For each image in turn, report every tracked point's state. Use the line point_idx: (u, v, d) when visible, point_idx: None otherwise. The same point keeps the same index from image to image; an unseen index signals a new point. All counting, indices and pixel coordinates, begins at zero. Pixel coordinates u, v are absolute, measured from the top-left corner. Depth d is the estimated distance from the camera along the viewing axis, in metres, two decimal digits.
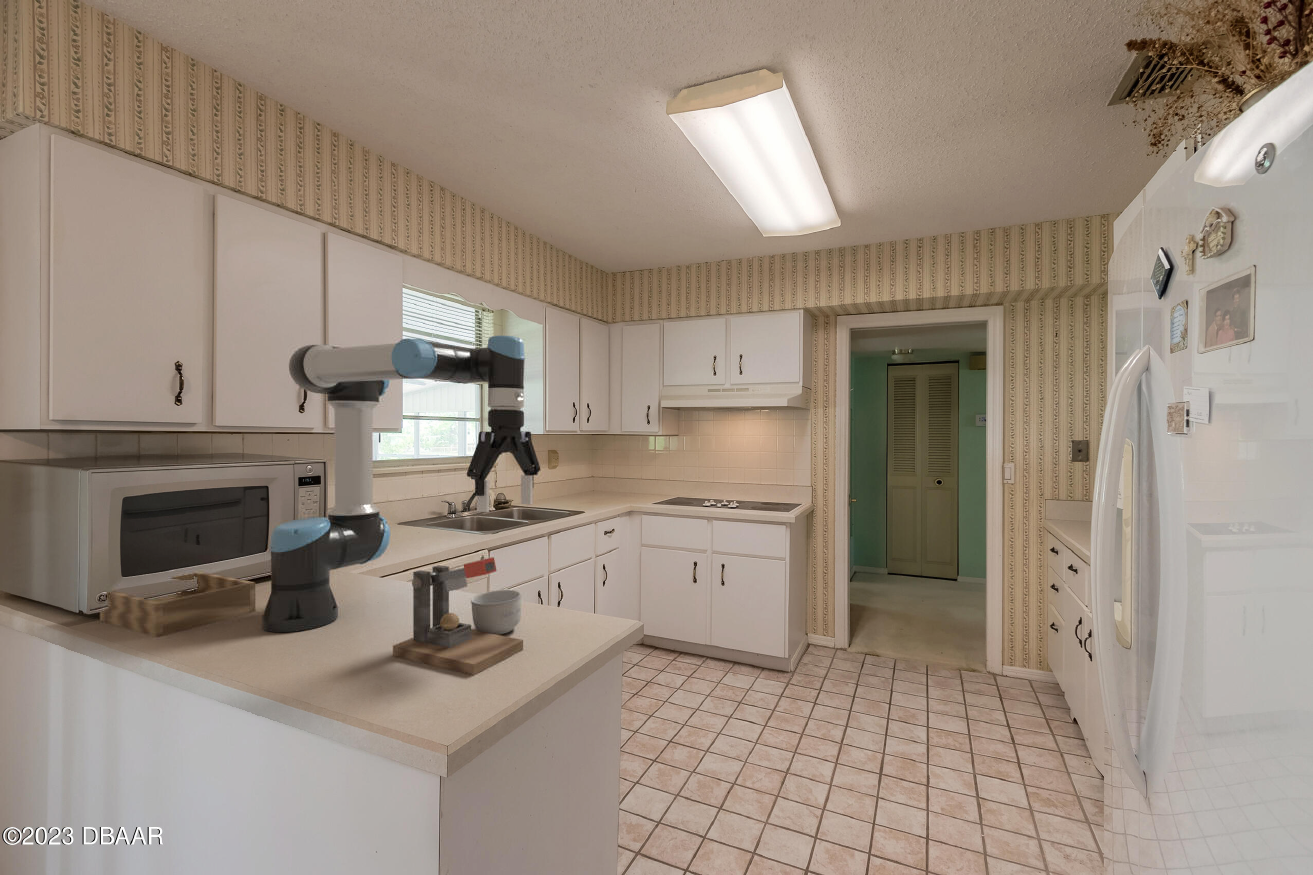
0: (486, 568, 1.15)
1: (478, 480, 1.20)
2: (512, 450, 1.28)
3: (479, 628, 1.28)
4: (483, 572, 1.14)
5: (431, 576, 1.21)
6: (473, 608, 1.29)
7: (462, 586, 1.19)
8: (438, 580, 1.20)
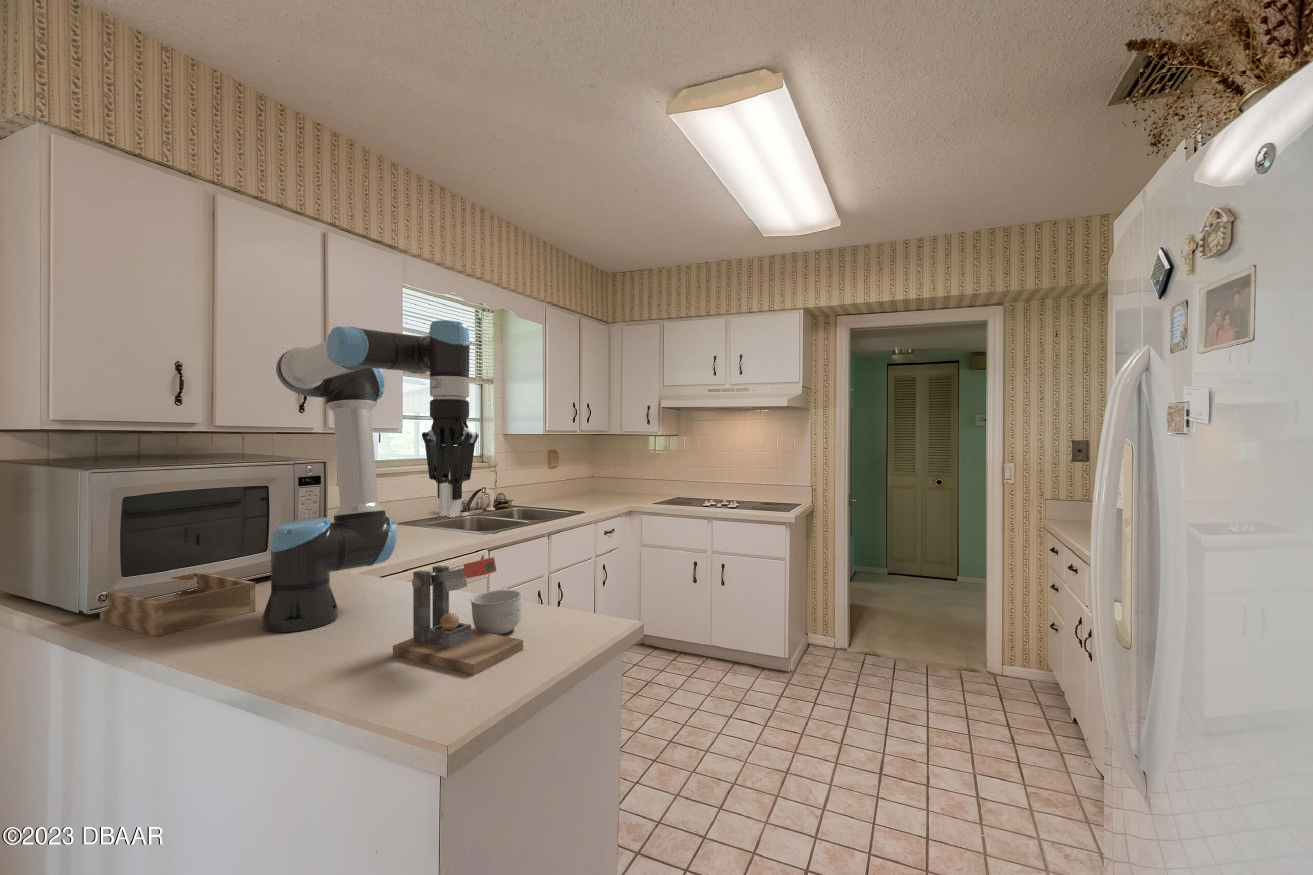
0: (486, 568, 1.15)
1: None
2: None
3: (479, 628, 1.28)
4: (483, 572, 1.14)
5: (431, 576, 1.21)
6: (473, 608, 1.29)
7: (462, 586, 1.19)
8: (438, 580, 1.20)
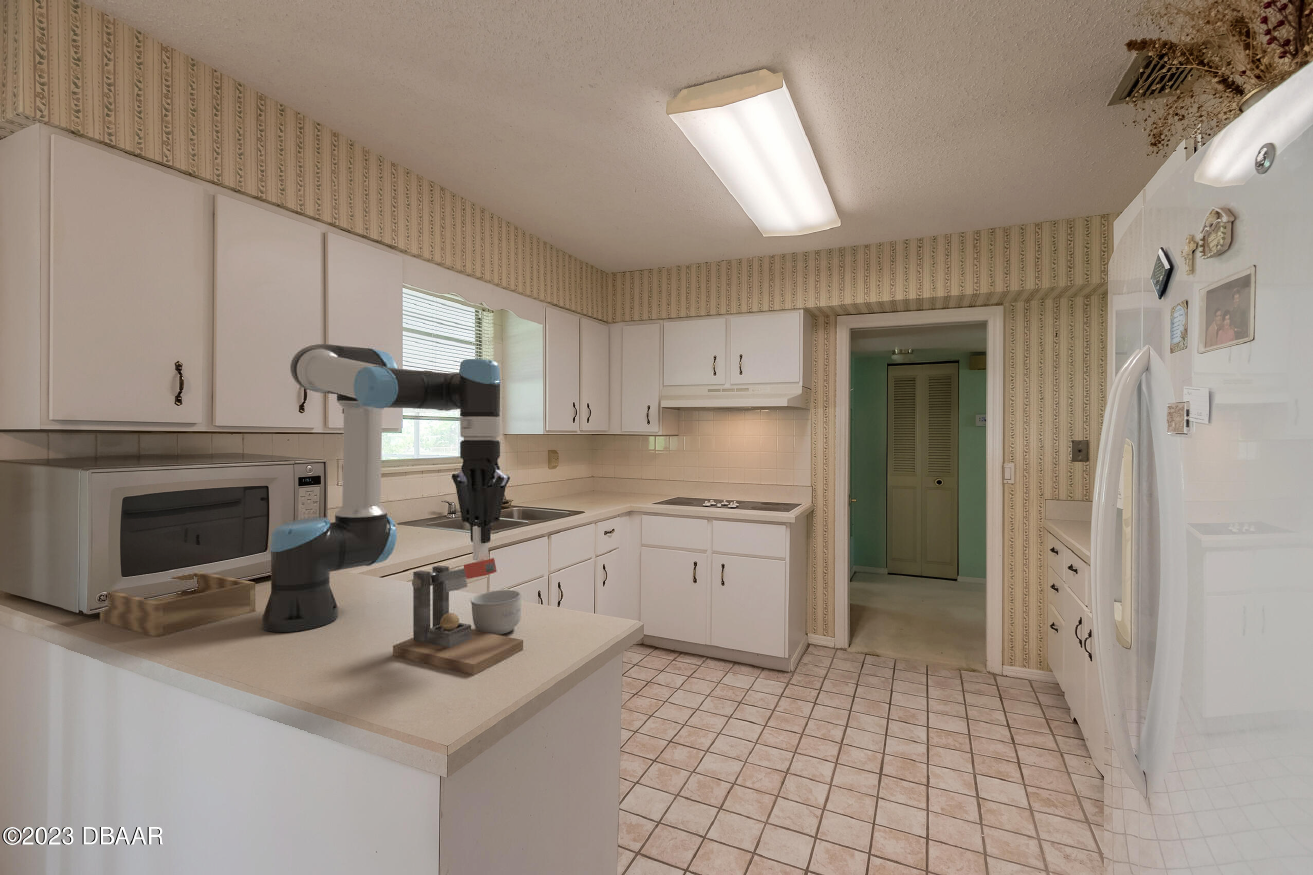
0: (487, 569, 1.15)
1: None
2: None
3: (479, 628, 1.28)
4: (483, 573, 1.14)
5: (431, 576, 1.21)
6: (473, 608, 1.29)
7: (462, 586, 1.19)
8: (438, 580, 1.20)
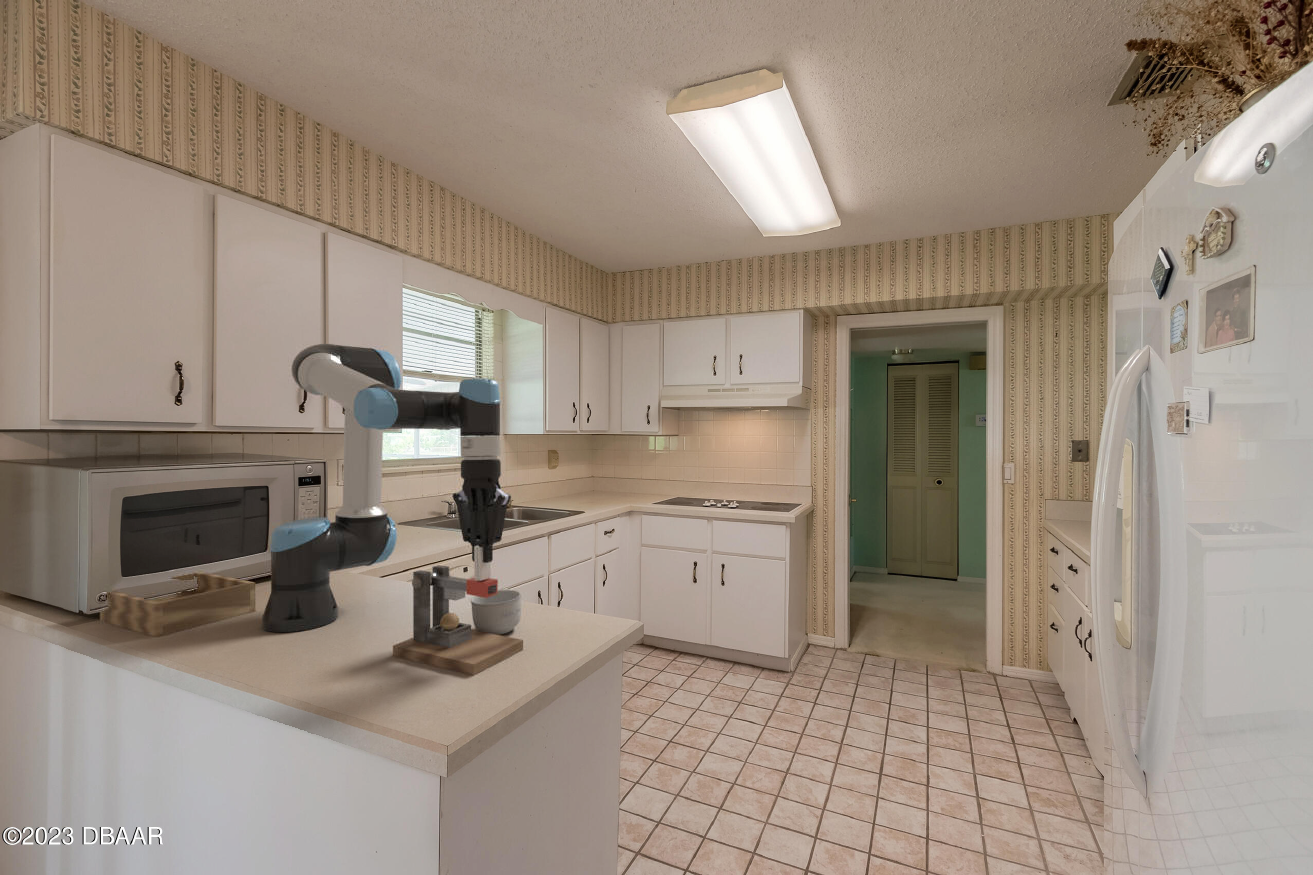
0: (488, 591, 1.14)
1: None
2: None
3: (479, 628, 1.28)
4: (484, 595, 1.14)
5: (432, 578, 1.20)
6: (473, 608, 1.29)
7: (460, 597, 1.19)
8: (438, 584, 1.20)
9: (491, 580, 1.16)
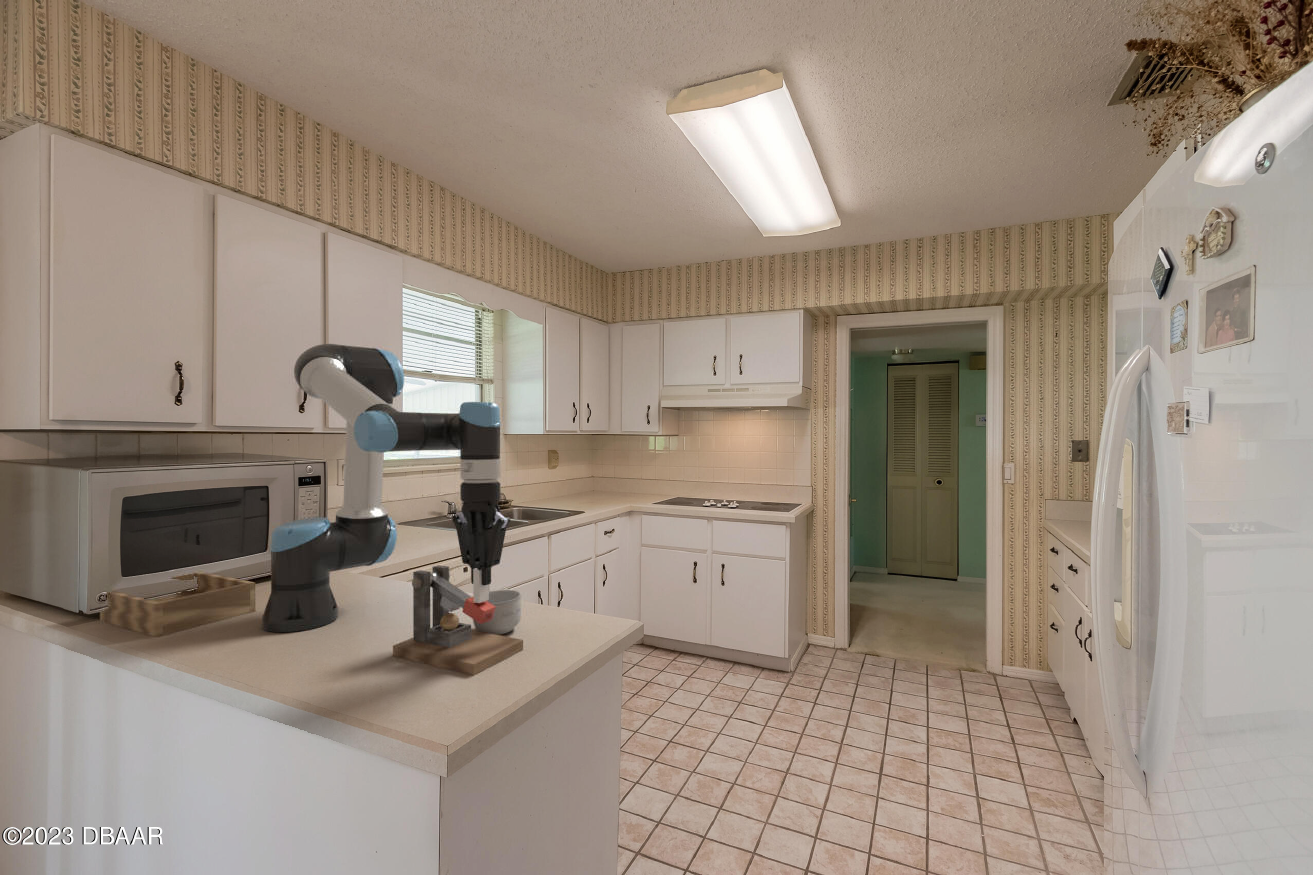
0: (484, 618, 1.15)
1: None
2: None
3: (479, 628, 1.28)
4: (479, 620, 1.15)
5: (432, 581, 1.20)
6: None
7: (455, 609, 1.19)
8: (436, 589, 1.20)
9: (489, 606, 1.16)
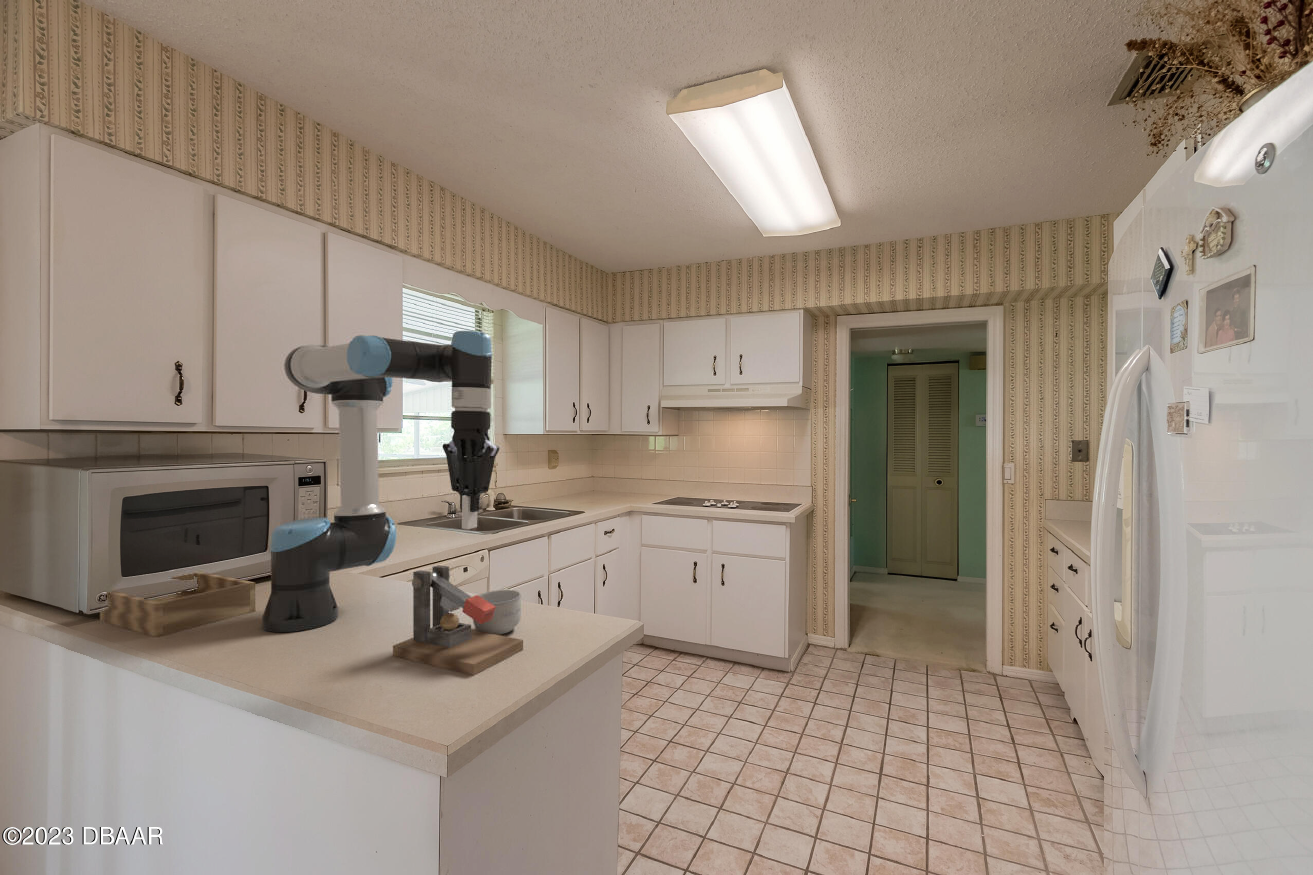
0: (484, 618, 1.15)
1: None
2: None
3: (479, 628, 1.28)
4: (479, 620, 1.15)
5: (432, 581, 1.20)
6: None
7: (455, 609, 1.19)
8: (436, 589, 1.20)
9: (489, 606, 1.16)
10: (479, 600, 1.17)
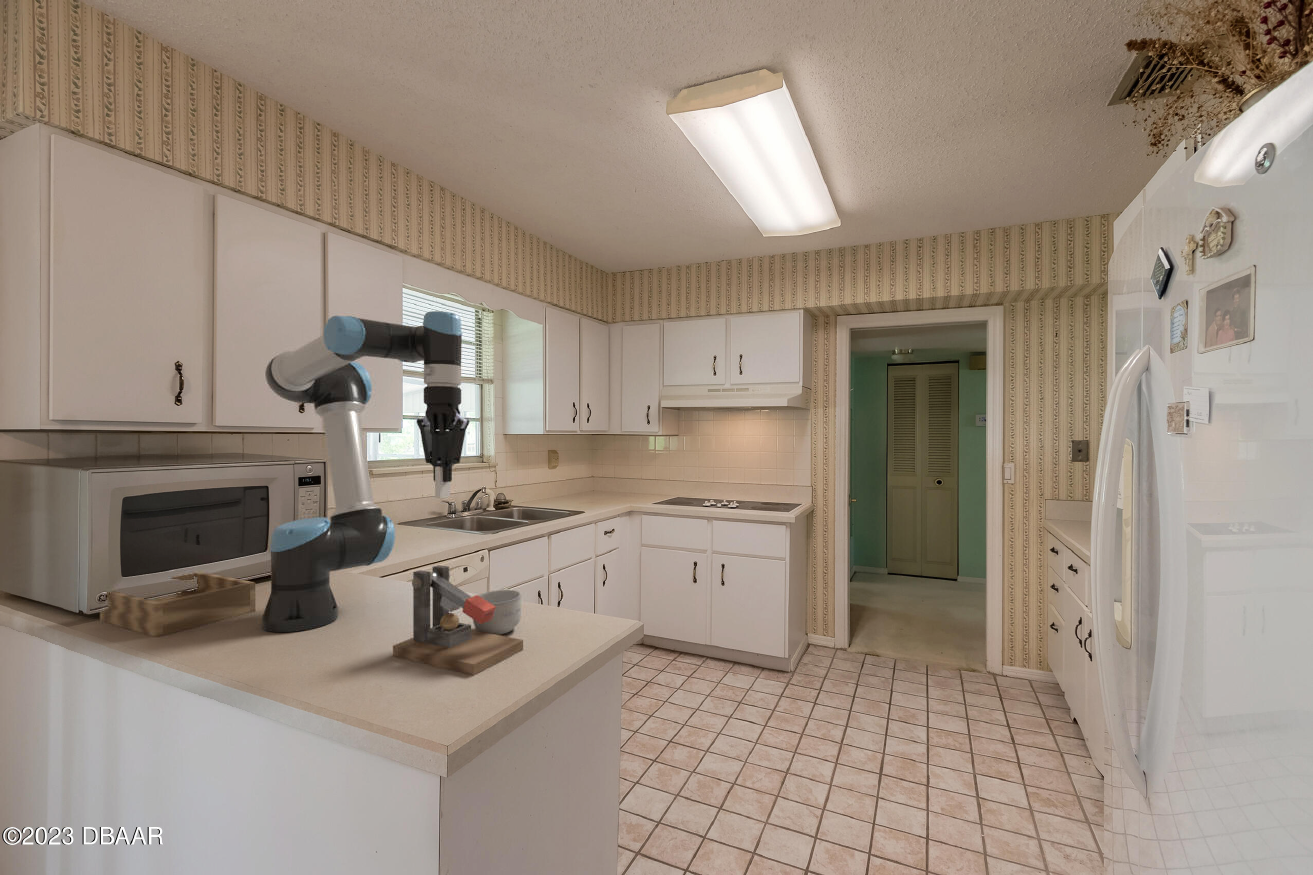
0: (484, 618, 1.15)
1: None
2: None
3: (479, 628, 1.28)
4: (479, 620, 1.15)
5: (432, 581, 1.20)
6: None
7: (455, 609, 1.19)
8: (436, 589, 1.20)
9: (489, 606, 1.16)
10: (479, 600, 1.17)
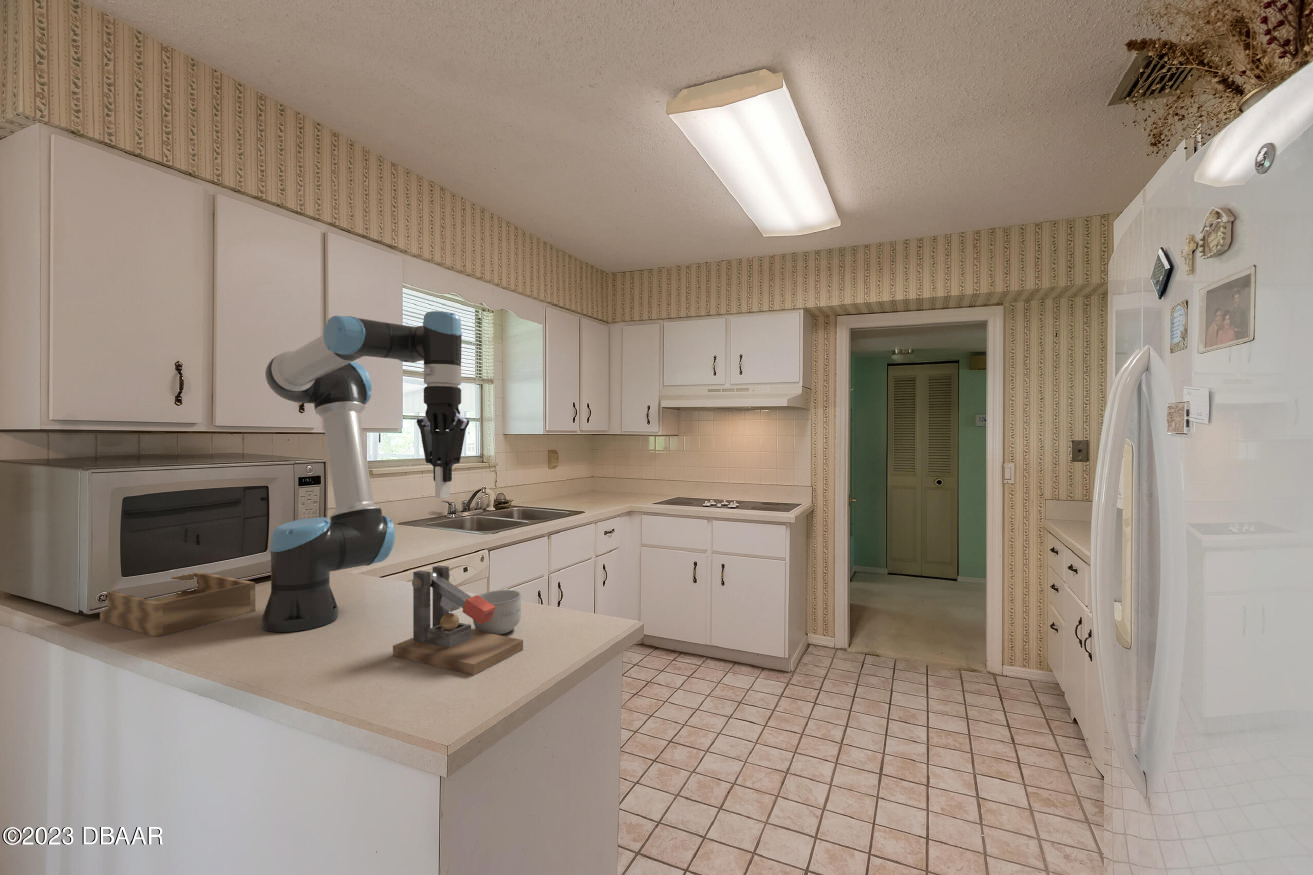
0: (484, 618, 1.15)
1: None
2: None
3: (479, 628, 1.28)
4: (479, 620, 1.15)
5: (432, 581, 1.20)
6: None
7: (455, 609, 1.19)
8: (436, 589, 1.20)
9: (489, 606, 1.16)
10: (479, 600, 1.17)
